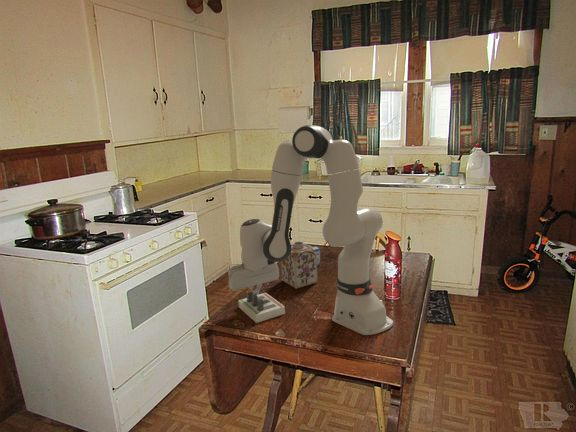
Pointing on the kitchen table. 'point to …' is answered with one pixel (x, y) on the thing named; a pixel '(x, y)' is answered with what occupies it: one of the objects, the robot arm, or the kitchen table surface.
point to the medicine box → (317, 254)
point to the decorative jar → (300, 266)
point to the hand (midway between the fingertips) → (255, 294)
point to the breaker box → (261, 307)
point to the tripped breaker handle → (249, 295)
